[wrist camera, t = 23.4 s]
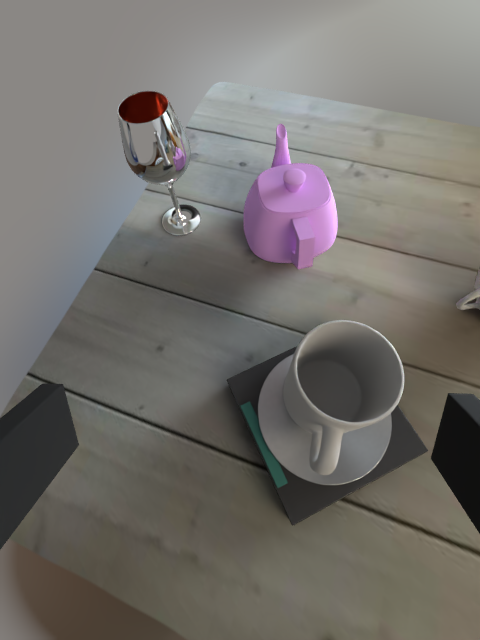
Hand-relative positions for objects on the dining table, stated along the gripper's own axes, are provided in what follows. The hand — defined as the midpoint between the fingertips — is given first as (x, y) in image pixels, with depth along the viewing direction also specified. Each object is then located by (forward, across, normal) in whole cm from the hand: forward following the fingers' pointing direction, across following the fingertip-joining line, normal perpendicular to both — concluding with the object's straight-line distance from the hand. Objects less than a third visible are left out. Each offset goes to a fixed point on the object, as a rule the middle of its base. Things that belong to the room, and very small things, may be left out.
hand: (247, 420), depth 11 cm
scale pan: (+19, +7, -14) cm, 25 cm away
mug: (+19, +7, -14) cm, 25 cm away
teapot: (+42, +4, +2) cm, 42 cm away
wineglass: (+44, -13, +4) cm, 46 cm away
